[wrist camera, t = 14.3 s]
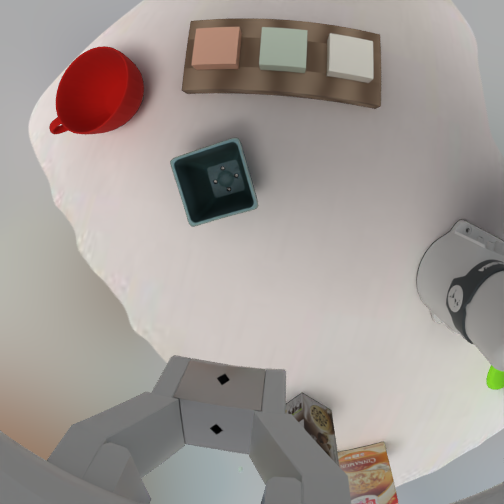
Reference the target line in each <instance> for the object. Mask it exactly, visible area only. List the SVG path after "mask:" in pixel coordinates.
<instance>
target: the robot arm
mask: <svg viewBox="0 0 504 504" xmlns="http://www.w3.org/2000/svg"><path fill="white" fill-rule="evenodd" d="M466 229H467V231H466ZM417 289H418V293H419V296H420V298H421V300H422V302H423V303H424V304H425V305H426V306H427V307H428V308H429V310H430V312H431V316H432V319H433V321H435V322H436V323H438V324H440V323H444V324H445V325H446V326H447V327H448V328H449V329H450V330H451V331H452V332H454V333H455V334H459V333H460V335H461V336H462V337H463V338H464V339H466V340H467V341H468V342H469V343H471V344H474V345H475V346H476V347H477V348H478V349H479V351H480V352H481V353H482V354H483V355H484V357H485V358H486V359H487V360H488V361H489V363H490V364H491V365H492V366H493V367H494V368H495V369H497V370H500V371H504V241H502V240H501V239H499V238H497V237H495V236H493V235H491V234H489V233H488V232H486V231H484V230H482V229H480V228H478V227H476V226H474V225H472V224H470V223H468V222H466V221H464V220H459V221H458V222H457V223H456V224H455V225H454V227H453V228H452V229H451V231H450V232H449V233H447V234H446V235H444V236H443V237H441V238H440V239H438V240H437V241H436V242H435V243H433V245H432V246H431V247H430V248H429V249H428V251H427V252H426V254H425V255H424V257H423V259H422V261H421V264H420V267H419V270H418V275H417ZM285 409H286V371H285V370H282V369H267V368H266V371H265V369H262V368H252V367H243V366H235V365H228V364H222V363H216V362H210V361H204V360H199V359H193V358H192V359H191V358H187V357H182V356H177V355H174V356H173V357H171V358H170V360H169V362H168V364H167V366H166V367H165V369H164V371H163V373H162V375H161V376H160V378H159V380H158V382H157V384H156V385H155V387H154V389H153V391H152V393H149V392H144V393H142V394H140V395H138V396H136V397H134V398H132V399H130V400H128V401H126V402H123V403H121V404H119V405H117V406H115V407H112V408H110V409H108V410H106V411H104V412H101V413H99V414H97V415H94V416H92V417H90V418H88V419H85V420H83V421H80V422H78V423H76V424H73V425H72V426H71V427H70V428H69V430H68V431H67V433H66V434H65V435H64V437H63V438H62V440H61V441H60V443H59V444H58V445H57V447H56V448H55V450H54V451H53V452H52V454H51V455H50V457H49V458H48V460H47V461H46V460H44V459H43V458H41V457H39V456H37V455H36V454H34V453H33V452H31V451H29V450H28V449H26V448H24V447H23V446H22V445H20V444H18V443H17V442H16V441H14V440H12V439H11V438H10V437H8V436H7V435H6V434H4V433H3V432H1V431H0V504H150V501H151V498H150V496H149V493H148V491H147V489H146V487H145V485H144V483H143V481H142V479H141V478H142V477H144V476H145V475H147V474H148V473H149V472H151V471H152V470H153V469H155V468H156V467H158V466H159V465H160V464H162V463H163V462H164V461H166V460H167V459H168V458H170V457H171V456H172V455H173V454H175V453H176V452H177V451H179V450H180V449H181V448H182V447H184V446H185V444H188V445H194V446H200V447H206V448H213V449H219V450H224V451H230V452H237V453H244V454H249V456H250V458H251V460H252V462H253V464H254V465H255V467H256V469H257V471H258V473H259V474H260V476H261V478H262V480H263V481H264V483H265V485H266V487H265V490H264V494H263V498H262V501H261V504H351V497H350V489H349V481H348V475H347V474H346V473H345V472H344V471H343V470H342V469H341V468H340V467H339V466H338V465H337V464H336V463H335V462H334V461H333V460H332V459H331V458H330V457H329V456H328V454H327V453H326V452H325V451H324V450H323V449H322V448H321V447H320V446H319V445H318V444H317V443H316V441H315V440H314V439H313V438H312V437H311V436H310V435H309V434H308V433H307V431H306V430H305V429H304V428H303V427H302V426H301V425H300V423H299V422H298V421H297V420H296V419H295V418H294V417H293V415H292V414H285ZM451 504H504V482H502V483H500V484H498V485H496V486H494V487H492V488H490V489H487V490H485V491H482V492H480V493H478V494H475V495H473V496H470V497H467V498H465V499H462V500H459V501H456V502H453V503H451Z"/></svg>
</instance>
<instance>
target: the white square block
mask: <svg viewBox="0 0 504 504" xmlns="http://www.w3.org/2000/svg"><path fill="white" fill-rule="evenodd" d="M327 76H330V77H337V78H343V79H349V80H355V81H360V82H365V83H369V82H370V81H372V80H373V41H369V40H365V39H360V38H355V37H349V36H344V35H338V34H332V33H330V34H329V37H328V40H327Z"/></svg>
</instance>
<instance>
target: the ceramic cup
mask: <svg viewBox="0 0 504 504" xmlns="http://www.w3.org/2000/svg"><path fill="white" fill-rule="evenodd" d="M143 92H144V85H143V79H142V76H141V73H140V71H139V70H138V68H137V67H136V65H135V64H134V63H133V62H132V61H131V60H130V59H129V58H128V57H127V56H125V55H124V54H123V53H121V52H120V51H118V50H116V49H114V48H111V47H97V48H93V49H90V50H88V51H86V52H84V53H83V54H81V55H80V56H79V57H77V58H76V59H75V60H74V61H73V62H72V63H71V65H70V66H69V67H68V68H67V70H66V71H65V73H64V75H63V76H62V79H61V81H60V83H59V86H58V90H57V94H56V111H57V116H58V117H57V118H56V119H55V120H53V121H52V122H51V124H50V127H49V128H50V131H51V133H52V134H60V133H63V132H66V131H68V130H69V131H71V132H73V133H76V134H97V133H105V132H108V131H111V130H114V129H117V128H118V127H120V126H122V125H124V124H125V123H126V122H127V121H129V120H130V119H131V118H132V117H133V116H134V114H135V113H136V112H137V110H138V109H139V106H140V104H141V102H142V98H143ZM60 124H62V125H61V126H59V125H60Z"/></svg>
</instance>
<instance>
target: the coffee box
mask: <svg viewBox="0 0 504 504" xmlns="http://www.w3.org/2000/svg"><path fill="white" fill-rule="evenodd" d="M285 414H292V415H293V417H294V418H295V419H296V420H297V421H298V422H299V423H300V425H301V426H302V427H303V428H304V429H305V430H306V431H307V433H308V434H309V435H310V436H311V437H312V438H313V439H314V440H315V441H316V443H317V444H318V445H319V446H320V447H321V448H322V449H323V450H324V451H325V452H326V453H327V454H328V456H329V457H330V458H331V459H332V460H333V461H334V462H335V463H336V464H337V465H338V466H339V459H338V452H337V445H336V438H335V431H334V425H333V418H332V411H331V410H330V409H328V408H326V407H325V406H323V405H321V404H320V403H318V402H316V401H315V400H313V399H311V398H310V397H308V396H306V395H305V394H303V393H301V394H300V395H299V396H297V397H296V398H294V399H293V400H291V401H290V402H289V403H287V404H286V409H285Z"/></svg>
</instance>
